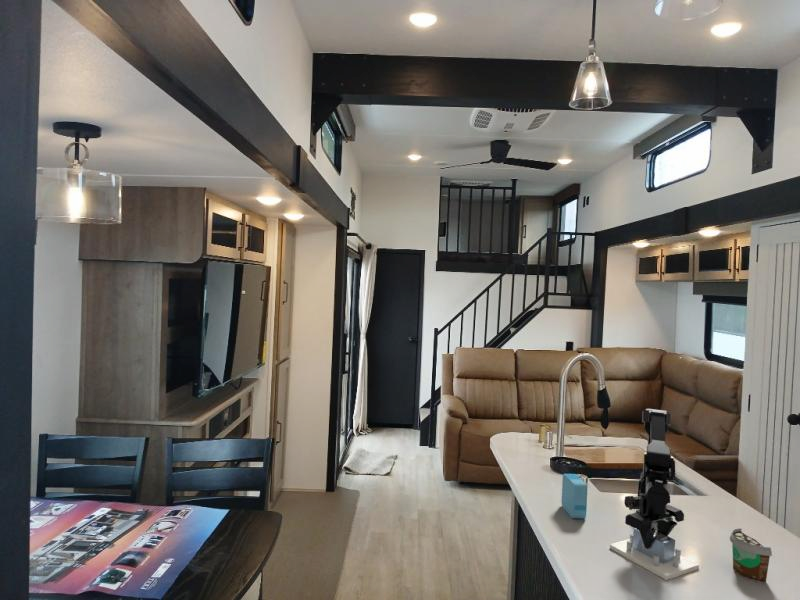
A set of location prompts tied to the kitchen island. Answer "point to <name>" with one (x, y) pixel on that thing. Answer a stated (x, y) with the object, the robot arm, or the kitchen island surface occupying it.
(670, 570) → the cream pegged board
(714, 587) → the kitchen island surface
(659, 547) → the block
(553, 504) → the kitchen island surface
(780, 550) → the kitchen island surface
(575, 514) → the light blue box
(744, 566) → the food container
